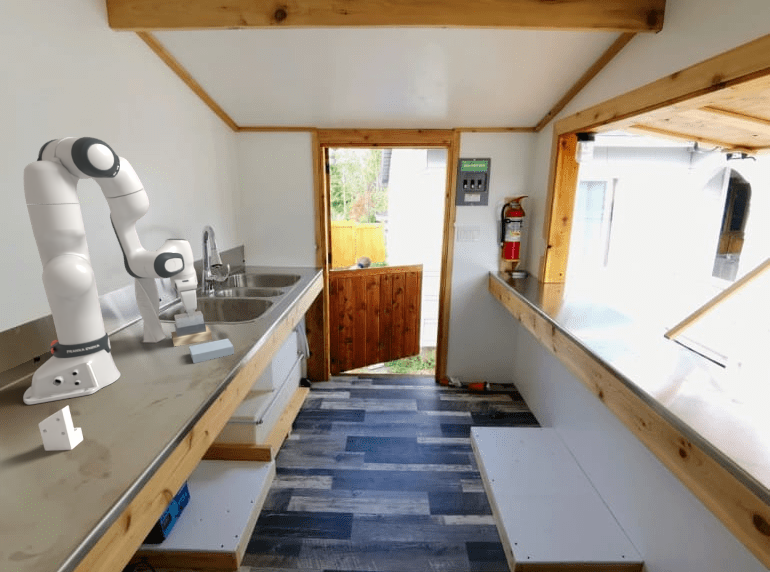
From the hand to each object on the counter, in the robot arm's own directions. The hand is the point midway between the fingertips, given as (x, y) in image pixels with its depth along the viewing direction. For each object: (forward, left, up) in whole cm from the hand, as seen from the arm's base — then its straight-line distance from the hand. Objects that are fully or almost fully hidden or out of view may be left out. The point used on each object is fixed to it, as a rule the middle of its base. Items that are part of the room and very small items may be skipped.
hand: (190, 315), depth 148 cm
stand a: (-1, 0, -9) cm, 9 cm away
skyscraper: (-13, +8, -10) cm, 18 cm away
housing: (-1, 0, -6) cm, 6 cm away
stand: (+3, -20, -9) cm, 23 cm away
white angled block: (-34, -55, -10) cm, 65 cm away
